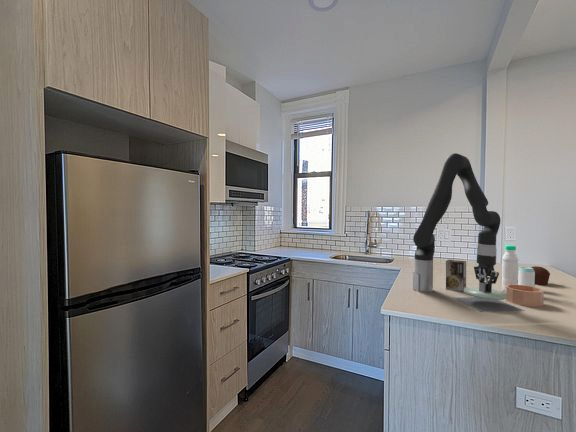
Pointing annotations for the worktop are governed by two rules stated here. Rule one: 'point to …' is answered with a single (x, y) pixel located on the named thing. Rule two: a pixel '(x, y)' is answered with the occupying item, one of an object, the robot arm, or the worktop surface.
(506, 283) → the water bottle
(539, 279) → the muffin
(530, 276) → the can
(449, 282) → the coffee box
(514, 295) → the bowl
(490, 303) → the mat
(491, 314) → the worktop surface
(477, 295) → the lid
